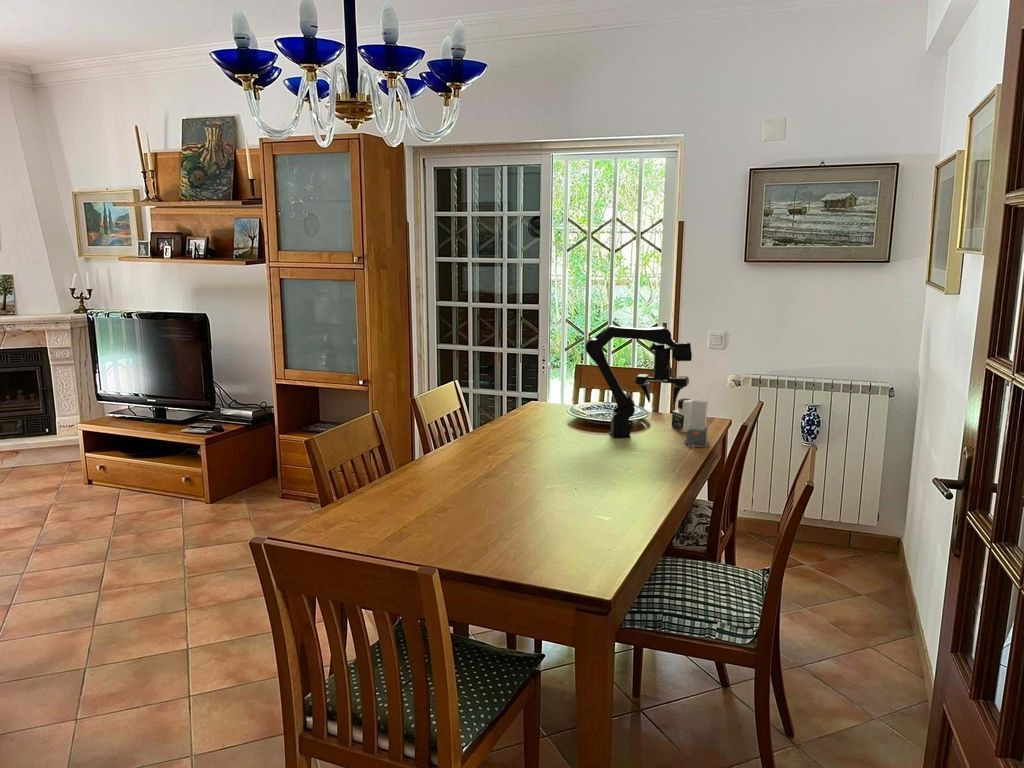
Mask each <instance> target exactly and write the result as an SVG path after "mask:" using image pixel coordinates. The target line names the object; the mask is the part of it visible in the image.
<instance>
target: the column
mask: <svg viewBox="0 0 1024 768" xmlns="http://www.w3.org/2000/svg"><path fill="white" fill-rule="evenodd" d="M691 400H692V410H691V423H690V430H695V431H704V432H705V430H706V427H707V416H708V403H709V402H708V401H709V399H708V398H699V397H693V398H692V399H691Z"/></svg>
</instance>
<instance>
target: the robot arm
mask: <svg viewBox="0 0 1024 768" xmlns="http://www.w3.org/2000/svg"><path fill="white" fill-rule="evenodd" d="M613 338H618V339H619V338H621V339H633V340H634V339H635V340H645V341H649V342H652V344H651V345H650V346H649V347H648V349H649V350H650V351H654V355H653V357H654V359H653V361H654V362H653V372H652V373H653V376H650V374H647V373H646V374H645V373H644V374H643V373H639V374H638V375H637V376H636V377H635V380H634V384H635V385H638V387H641V389H642V391H643V392H644V394H645V397H646V399H647V402H648V403H651V391H650V390H651V389H650V388H651V387H650V386H651V383H658V384H659V383H660V384H661V383H662V384H674V385H675V386H674V387H673V398H672V404H673V405H675V404H676V402H677V398H678V396H679V393H680V391H681V390H682V389H684V388H685V387H687V386H688V385H689V384H690V379H689V378H690V377H688V376H683V375H678V376H677V377H676V378H675V377H674V378H673V373H674V372H673V371H674V368H673V367H671V359H672V360H673V359H674V362H692V360H693V359H692V356H693V353H692V347H691V345H692V344H691V342H687V341H686V342H676V341H675V340H674V339H672V333H671V331H670V330H669V329H668V328H667V327H666V326H653V327H646V328H641V327H630V326H629V327H628V326H627V327H626V326H616V325H611V324H610V325H608V326H607V327H606V328H605V329H604V330H602V331H601V332H599V333H598V334H597V335H596V336H594V337H590V338H589V339H587V340H586V342H585V344H584V345H585V350H586V353H587V355H588V356H589V358H590V359H592V361H593V362H594V363H595V364H596V365H597V367H598V368H599V370H600V372H601V374H602V376H603V378H604V379H605V382H606V383H607V386H608V387H609V389H610V391H611V393H612V395H613V397H614V400H615V403H616V406H617V407H615V408H614V409H613V410H612V416H613V418H610V431H608V434H609V435H610V436H611V437H613V438H614V439H617V438H631V430H632V429H631V427H632V424H631V423H630V418H631V417H633V416H634V414H635V413H636V412H635V411H636V408H635V406H636V403H635V401H634V400H633V399H632V396H631V394H630V392H627V393H625V392H624V390H623V389H622V387H621V384H620V383H619V381H618V379H617V378H616V375H615V373H614V372H613V369H612V368H611V366H610V364H609V363H608V361H607V359H606V356H605V353H604V349H603V347H605V346H606V345H607V344H608V343H609V342H610V341H611V340H612V339H613ZM665 345H666V346H665Z"/></svg>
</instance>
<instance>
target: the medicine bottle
mask: <svg viewBox="0 0 1024 768" xmlns="http://www.w3.org/2000/svg"><path fill="white" fill-rule="evenodd" d="M692 400H693V399H691V398H680V399H678V400H677V409H675V410H672V412H671V413H672V414H671V415H672V416H671V417H672V418H671V429H673V430H676V431H678V432H680V433H687V430H688V428H689V426H690V423H691V410H692Z"/></svg>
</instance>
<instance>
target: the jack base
mask: <svg viewBox="0 0 1024 768" xmlns="http://www.w3.org/2000/svg"><path fill="white" fill-rule="evenodd" d="M708 432H709V427H708V426H706V430H705V432H704V431H695V430H690V426H689V428H688V430H687V432H686V439H684V440H683V444H684V445H685V444H686V445H685V446H687V445H689V446H694V447H693V448H695V447H706V446H709V445H710V444H711V443H710V441H708V434H709V433H708ZM689 446H688V447H689ZM710 446H711V445H710ZM710 446H709V447H710ZM706 448H707V447H706Z"/></svg>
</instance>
